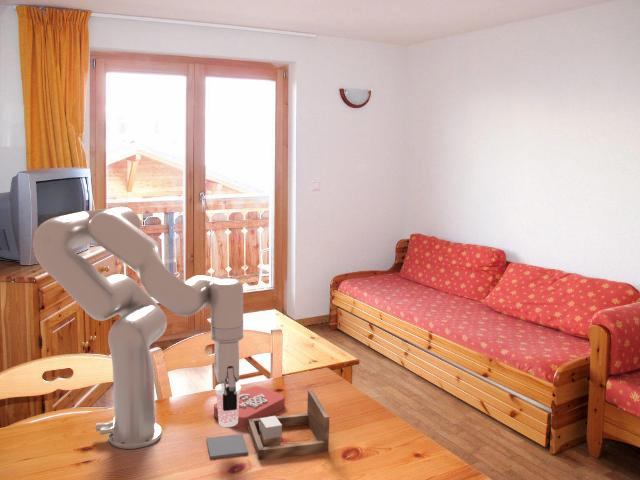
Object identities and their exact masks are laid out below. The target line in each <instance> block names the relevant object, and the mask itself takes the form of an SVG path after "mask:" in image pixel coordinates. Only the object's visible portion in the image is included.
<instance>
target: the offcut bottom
mask: <svg viewBox="0 0 640 480" xmlns="http://www.w3.org/2000/svg"><path fill="white" fill-rule="evenodd" d="M260 440H261V443H262V446H263V447H270V446H279V445H281V437H276V438H271V439H266V438H265V437H264V435H263V434H262V432H261V435H260Z"/></svg>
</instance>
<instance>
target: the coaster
mask: <svg viewBox="0 0 640 480" xmlns="http://www.w3.org/2000/svg"><path fill="white" fill-rule="evenodd" d="M244 437H245V436H244V434H243V433H240V434H231V435H229V434H228V435H221V436H211V437H206V445H207V450H208V455H209V459H210V460H211V459H219V458H220V459H221V458H228V457H238V456H245V455H246V456H247V455H249V449H248V447H247V444H246V439H245V438H244Z"/></svg>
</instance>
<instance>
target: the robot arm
mask: <svg viewBox="0 0 640 480" xmlns="http://www.w3.org/2000/svg"><path fill="white" fill-rule="evenodd" d="M141 227H142V226H141V220H140V217H139V215H138V214H137V213H136V212H135V211H134V210H132V209H131V208H129V207H126V206H125V207H124V206H118V207H116V206H115V207H110V208H109V207H108V208H102V209H93V210H85V211H84V210H82V211H79V212H72V213H68V214H64V215H59V216H54V217H52V218H49V219H47V220H46V221H43V222H42V223H40V224H39V226H38V227H37V228H36V230H35V233H34V235H33V238H32V248H33V249H32V250H33V254H34V256H35V258H36V262H37V263H38V264H39V266H41V268H42V269H43V270H44V271H45V272H46V273H47V275H49V276H50V277H51V278H53V279H54V281H56V282H57V283H58V284H59V285H60V286H61V287H62V288H63V290H65V291H66V293H67V294H68V295H69V296H70V297H71V298H72V299H73V300H74V301H75V302H76V303H77V305H78V306H80V308H81V309H82V310H83V311H84V312H85V314H87V315H88V316H90V318H92V319H94V320H96V321H100V322H101V321H107V320H109V319H111V318H113V317H116V316H117V315H119V316H120V317H119V318H118V319H117V320H116V321H114V323H112V325H111V327H110V329H109V331H108V336H107V341H108V342H107V343H108V348H109V352H110V356H111V363H112V380H113V405H114V409H113V411H114V417H113V420H109V422H98V423H97V422H96V423H95V432H100V433H99V434H100V435H102V436H103V435H108V442H109V443H110V444H111V445H112V446H114V447H116V448H119V449H126V450H127V449H128V450H132V449H140V448H145V447H148V446H150V445H152V444H154V443H156V442H157V441H158V440H160V439H161V437H162V427H161V426H160V425H159V424H158V423H156V412H155V411H156V410H155V409H156V408H155V405H156V404H155V403H156V402H155V368H154V362H153V358H152V354H151V350H150V346H151V345H152V344H153V343H154V342H156V341H157V340H159V338H161V337H162V336H163V335H164V333H165V332H166V330H167V327H168V320H167V316H166V314H165V312H164V311H163V310H162V308H161V306H163V307H164V308H166V309H168V310H169V311H170V312H172V313H174V314H175V315H177V316H181V317H191V316H194V315H196V314H197V313H199V312H200V311H201V310H202V309H204V308H206V307H209V306H210V339H211V340H212V341H214V361H213V362H214V366H213V367H214V369H213V371H214V374H215V379H216V381H217V383H218V385H219V384H222V383H223V384H224V394H223V410H224V411H229V410H236V409H237V393H236V383H238V382H239V379H240V341H242V340H243V339H244V286H243V283H242V281H241V280H238V279H236V278H216V277H213V276H210V275H209V276H207V275H202V274H201V275H199V274H198V275H194V276H192V277H189V278H188V279H185V280H184V281H183V280H181V279H180V278H179V277H177V276H176V275H174V273H172V272H171V271H170V270H169V269H168V268H167V267H166V266H165V264H164V262H163V261H162V257H161V245H160V244H159V242H158V241H157V240H155V239H154V238H152V237H151V236H150V235H148V234H147V233H145V232H144V231H143V230H141ZM94 244H97V245H99V246H100V247H102V248H103V249H104V250H105V251H106V252H108V253H110V254H111V255H113V256H114V257H115V258H116V259H117V260H119V261H120V262H122V263H123V264H125V266H127V267H129V268H130V269H131V270H133V271H134V272H135V274H136V275H137V277H138V280H139V282H140V283H141V284H142V286H143V287H144V289H145V290H144V289H143V288H142V287H141V286H140V284H139V283H138V282H137V281H135V280H134V279H133V278H132V277H130V276H127V275H125V274H121V273H115V274H111V275H108V276H105V275H103V274H102V273H100V271H98V269H96V267H95V266H94V265H93V264H92V263H91V262H90V261H89V260H88V259H85V258H84V257H82V256H81V255H78V253H76V252H75V251H74V250H75V249H78V248H81V247H84V246H88V245H94ZM156 301H157V302H158V303H159V304H160V305H161V306H159V304H157V303H156ZM227 379H228V381H227ZM226 384H228V387H227V388H226Z"/></svg>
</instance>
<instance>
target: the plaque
mask: <svg viewBox="0 0 640 480" xmlns="http://www.w3.org/2000/svg"><path fill="white" fill-rule="evenodd" d="M285 401H286V400H285V395H283V394H281V393H278V392H276V391H273V390H271V389H268V388H264V387H262V386H258V385H255V386H251V387H248V388H246V389H243V390H241V391H240V396H239V414H238V424H236V425H235V426H234V427H238V428H248V419H256V418H264V417H270V416H271V415H273V414H275V413H276V412H279V411H281V410H282V409H284V408H285ZM213 416H214V417H215V418H216V419H218V407H217V402H216V403H215V404H213Z"/></svg>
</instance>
